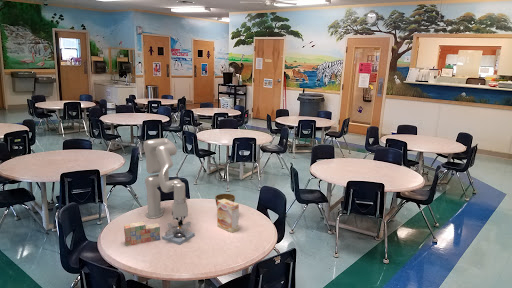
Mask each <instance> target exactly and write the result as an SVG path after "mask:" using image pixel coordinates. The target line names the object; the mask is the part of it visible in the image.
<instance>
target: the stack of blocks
mask: <svg viewBox="0 0 512 288" xmlns="http://www.w3.org/2000/svg"><path fill="white" fill-rule="evenodd" d="M123 226H124V227H123V228H124V229H123V230H124V231H123V232H124V233H123V234H124V242H125V245H126V246H127V247H128V246H129V247H130V246H134V245H139V244H143V243H144V244H145V243H148V242H154V241H159V240H161V226H160V225H159V223H158V222H156V223H151V224H146V223H145V222H144V221H138V222H133V223H126V224H124V225H123Z"/></svg>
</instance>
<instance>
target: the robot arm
mask: <svg viewBox="0 0 512 288" xmlns="http://www.w3.org/2000/svg"><path fill="white" fill-rule="evenodd" d="M143 151H144V154H145V164H146V172H147V173H148V174H150V175H148V176H146V177H145V178H144V179H145V180H144V185H145V188H146V197H147V199H146V200H147V201H146V202H147V212H146V213H145V217H146V218H147V219H158V218H161V217H162V216H163V215H164V212H163V211H164V210H165V209H166V207H165V206H163V207H161V206H162V205H161V192H160V190H161V191H162V192H164V193H166V194H167V193H170V192H173V202H172V204H171V205H172V206H171V216H172V220H175V221H177V226H180V225H183V224H184V220H185V218H187V217H189V210H188V209H189V207H188V203H187V201H188V197H186V184H185V182H182V180H181V179H179V178H175V179H170V177H169V176H170V174H169V170H170V169H171V168H172V167H173V166H174V163H173V159H172V157H173V156H175V155H177V152H178V149H177V147H176V145H175V144H174V143H173V141H171V140H169V139H168V138H166V137H162V138H161V137H160V138H153V139H148V140H145V141H144V142H143ZM171 156H172V157H171ZM159 187H160V190H159V189H158V188H159Z"/></svg>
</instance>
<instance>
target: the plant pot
mask: <svg viewBox="0 0 512 288" xmlns="http://www.w3.org/2000/svg"><path fill="white" fill-rule="evenodd" d="M214 198H215V204H216V206H217V201H218V200H222V199H227V200H229V201H232V202H234V203H235V200H236V196H235V195H234V194H232V193H220V194H216V195H215V197H214Z"/></svg>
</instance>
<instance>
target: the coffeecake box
mask: <svg viewBox="0 0 512 288" xmlns="http://www.w3.org/2000/svg"><path fill="white" fill-rule="evenodd" d="M239 207H240V206H239V203H237V202H235V201H234V202H232V201H229V200H227V199H222V200H218V201H217V205H216V208H217V209H216V210H217V213H216V215H217V219H216V220H217V227H218V228H220V229H222V230H224V231H226V232H228V233H231V234H232V233H235V232H237V231H239V220H240V219H239V210H240V209H239Z"/></svg>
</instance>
